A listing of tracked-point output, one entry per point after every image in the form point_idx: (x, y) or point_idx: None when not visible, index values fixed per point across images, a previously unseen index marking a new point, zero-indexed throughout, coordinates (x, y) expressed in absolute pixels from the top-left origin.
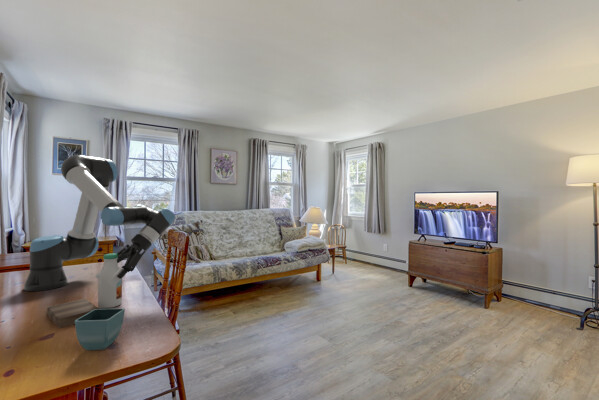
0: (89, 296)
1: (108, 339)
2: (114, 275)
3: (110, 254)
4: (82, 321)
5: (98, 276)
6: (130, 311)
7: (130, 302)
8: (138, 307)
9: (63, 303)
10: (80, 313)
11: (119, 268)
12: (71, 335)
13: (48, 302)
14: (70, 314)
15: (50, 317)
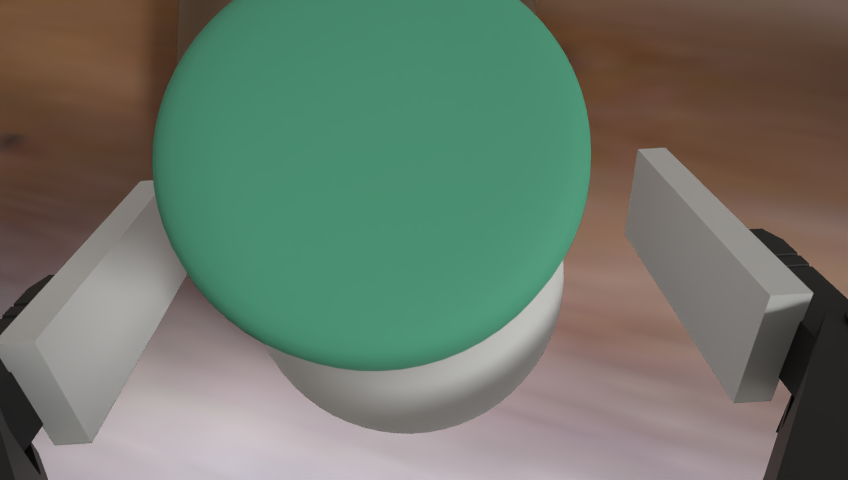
0: (819, 253)
1: None
2: (100, 241)
3: (289, 104)
4: None
5: (641, 188)
6: (135, 391)
7: (365, 471)
8: (175, 475)
9: (529, 7)
10: (177, 53)
11: (327, 390)
12: (30, 19)
13: (843, 4)
14: (209, 4)
15: None
